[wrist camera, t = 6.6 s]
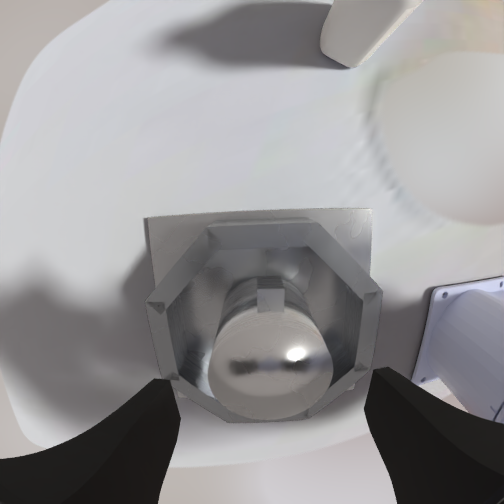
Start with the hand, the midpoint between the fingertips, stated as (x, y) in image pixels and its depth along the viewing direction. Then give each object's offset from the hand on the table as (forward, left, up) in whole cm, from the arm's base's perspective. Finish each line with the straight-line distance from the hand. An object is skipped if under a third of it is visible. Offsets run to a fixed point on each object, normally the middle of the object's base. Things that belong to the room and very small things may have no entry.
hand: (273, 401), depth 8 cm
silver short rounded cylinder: (0, 0, -7) cm, 7 cm away
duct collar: (0, 0, -7) cm, 7 cm away
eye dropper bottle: (-6, -17, -7) cm, 19 cm away
